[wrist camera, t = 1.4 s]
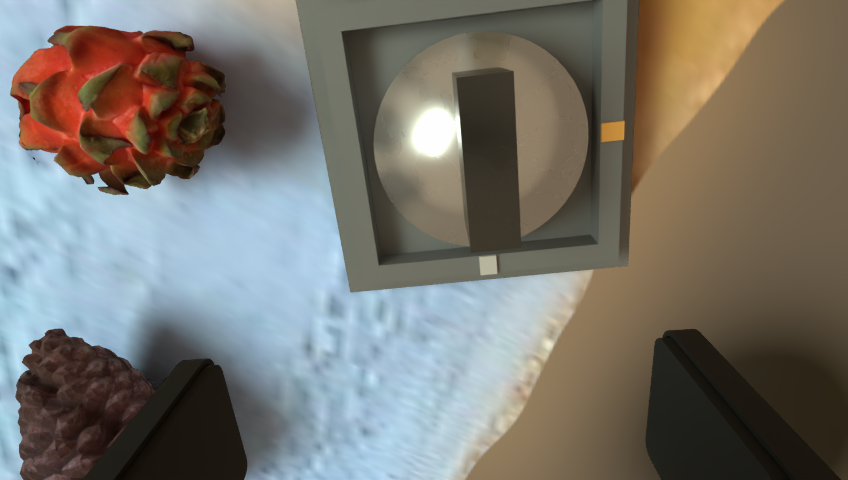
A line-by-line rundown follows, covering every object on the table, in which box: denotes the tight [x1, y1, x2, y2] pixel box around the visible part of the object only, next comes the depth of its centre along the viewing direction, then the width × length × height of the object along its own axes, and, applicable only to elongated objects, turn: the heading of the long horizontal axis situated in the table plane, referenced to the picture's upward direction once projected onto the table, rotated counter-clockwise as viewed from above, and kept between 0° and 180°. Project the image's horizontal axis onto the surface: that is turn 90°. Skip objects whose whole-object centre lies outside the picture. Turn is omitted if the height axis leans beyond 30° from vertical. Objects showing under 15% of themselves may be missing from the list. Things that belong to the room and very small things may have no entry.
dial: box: [374, 31, 589, 253], centre depth 25 cm, size 12×12×7 cm
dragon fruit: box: [10, 26, 226, 195], centre depth 26 cm, size 8×8×12 cm
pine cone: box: [15, 329, 155, 480], centre depth 33 cm, size 18×10×10 cm, turn 10°
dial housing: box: [296, 0, 639, 292], centre depth 28 cm, size 18×18×3 cm
